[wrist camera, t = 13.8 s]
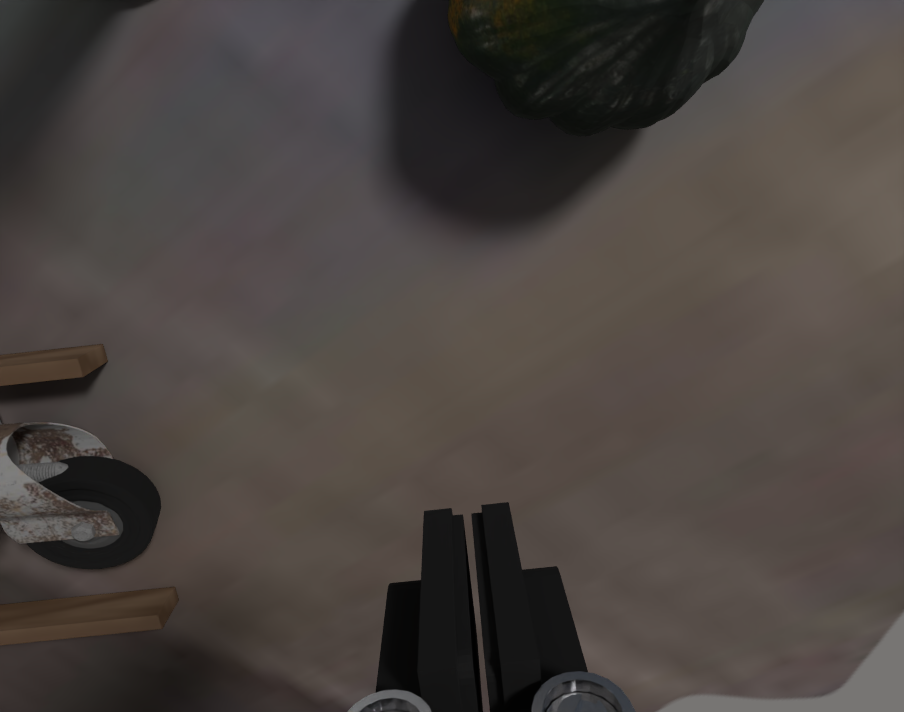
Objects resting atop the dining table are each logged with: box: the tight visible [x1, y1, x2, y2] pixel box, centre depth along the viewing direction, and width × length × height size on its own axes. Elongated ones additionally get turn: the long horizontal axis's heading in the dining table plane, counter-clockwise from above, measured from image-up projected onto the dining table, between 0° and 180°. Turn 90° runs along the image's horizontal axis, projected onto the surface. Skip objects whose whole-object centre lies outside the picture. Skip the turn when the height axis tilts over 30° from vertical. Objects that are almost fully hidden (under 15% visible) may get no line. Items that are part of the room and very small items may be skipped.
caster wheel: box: [0, 420, 161, 569], centre depth 41 cm, size 7×11×10 cm
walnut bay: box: [0, 344, 179, 645], centre depth 43 cm, size 20×17×3 cm
